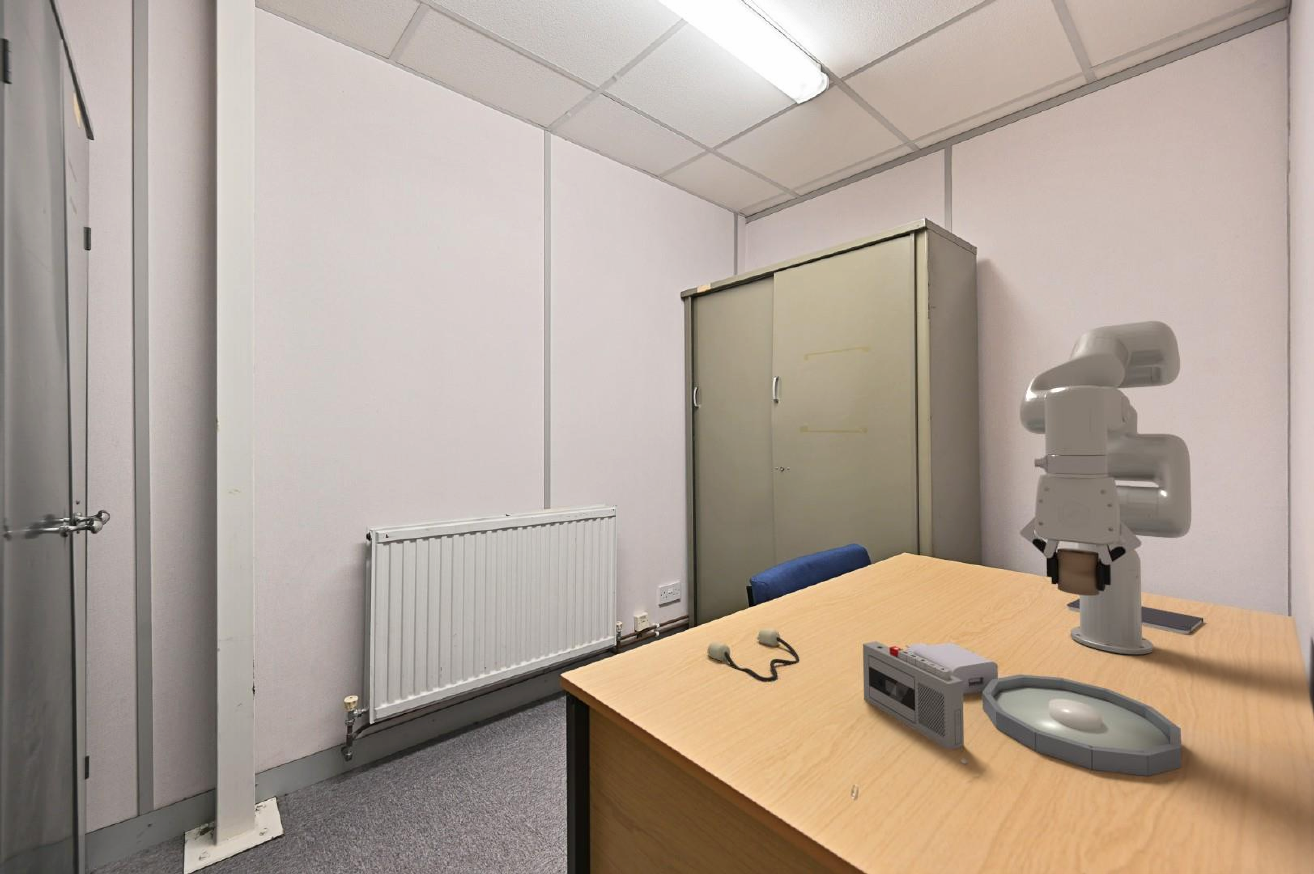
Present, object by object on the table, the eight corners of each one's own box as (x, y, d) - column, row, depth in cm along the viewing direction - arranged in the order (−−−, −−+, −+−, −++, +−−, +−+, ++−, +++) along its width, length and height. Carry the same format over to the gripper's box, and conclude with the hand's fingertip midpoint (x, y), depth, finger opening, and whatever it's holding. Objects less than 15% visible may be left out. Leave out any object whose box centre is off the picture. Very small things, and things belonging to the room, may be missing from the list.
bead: (1060, 584, 86) (1059, 546, 86) (1100, 590, 82) (1100, 550, 82) (1055, 591, 82) (1054, 551, 82) (1097, 597, 79) (1096, 556, 79)
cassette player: (863, 699, 87) (862, 637, 87) (876, 696, 88) (875, 635, 88) (949, 750, 72) (948, 676, 72) (963, 746, 73) (962, 673, 73)
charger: (930, 654, 104) (998, 689, 90) (890, 660, 102) (953, 697, 87) (929, 630, 104) (997, 660, 90) (889, 635, 102) (952, 667, 87)
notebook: (1203, 625, 118) (1085, 601, 136) (1203, 617, 118) (1085, 595, 136) (1187, 637, 111) (1065, 611, 129) (1187, 630, 111) (1065, 604, 129)
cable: (824, 664, 101) (824, 646, 101) (761, 688, 92) (760, 668, 92) (765, 639, 114) (765, 623, 114) (704, 658, 105) (704, 640, 105)
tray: (1003, 678, 93) (1003, 663, 93) (1180, 723, 78) (1180, 706, 78) (968, 729, 77) (967, 711, 77) (1181, 798, 62) (1181, 776, 62)
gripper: (1005, 466, 86) (1007, 581, 85) (1150, 469, 74) (1152, 602, 74) (1015, 464, 91) (1017, 572, 91) (1152, 467, 79) (1154, 590, 79)
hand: (1078, 584), depth 82 cm, fingers closed on bead, 4 cm apart
